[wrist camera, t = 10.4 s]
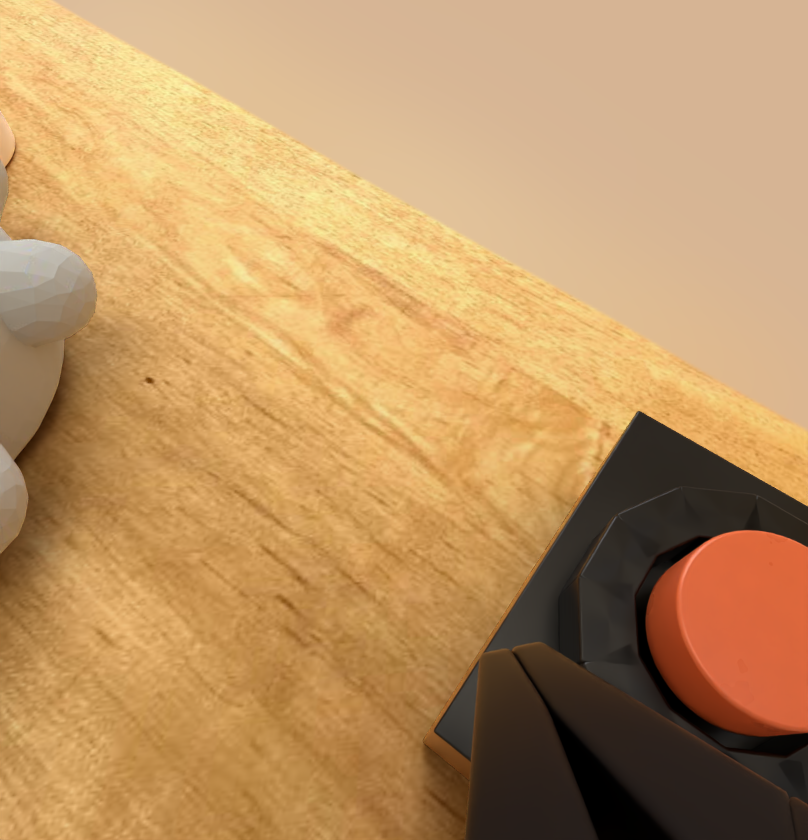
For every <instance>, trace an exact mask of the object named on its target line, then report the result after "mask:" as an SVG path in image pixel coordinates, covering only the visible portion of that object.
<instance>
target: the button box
mask: <svg viewBox="0 0 808 840" xmlns="http://www.w3.org/2000/svg"><path fill="white" fill-rule="evenodd" d="M742 530H752V531H763V532H769V533H774V534H777V535H781V536H784V537H787V538H789V539H791V540H794V541H796V542H798V543H800V544H802V545H804V546H806V547H808V506H806V505H804V504H802V503H801V502H799V501H797V500H795V499H794V498H792V497H790V496H788V495H786V494H785V493H783V492H781V491H779V490H778V489H776V488H774V487H772V486H771V485H769V484H767V483H765V482H764V481H762V480H760V479H758V478H757V477H755V476H753V475H751V474H749V473H748V472H746V471H744V470H742V469H741V468H739V467H737V466H735V465H734V464H732V463H730V462H728V461H727V460H725V459H723V458H721V457H720V456H718V455H716V454H714V453H713V452H711V451H709V450H707V449H705V448H704V447H702V446H700V445H698V444H697V443H695V442H693V441H691V440H690V439H688V438H686V437H684V436H683V435H681V434H679V433H677V432H676V431H674V430H672V429H670V428H668V427H667V426H665V425H663V424H661V423H660V422H658V421H656V420H654V419H653V418H651V417H649V416H647V415H646V414H644V413H642V412H640V411H638V412H637V413H636V414H635V416H634V417H633V419H632V420H631V422H630V423H629V425H628V426H627V428H626V429H625V431H624V432H623V433H622V435H621V436H620V438H619V439H618V441H617V442H616V444H615V445H614V447H613V448H612V450H611V451H610V453H609V454H608V456H607V457H606V458H605V460H604V461H603V463H602V464H601V466H600V467H599V469H598V470H597V472H596V473H595V475H594V476H593V478H592V479H591V481H590V482H589V483H588V485H587V486H586V488H585V489H584V491H583V492H582V494H581V495H580V497H579V498H578V500H577V501H576V503H575V505H574V506H573V508H572V509H571V511H570V512H569V514H568V515H567V517H566V519H565V520H564V522H563V523H562V525H561V526H560V528H559V529H558V531H557V532H556V534H555V536H554V537H553V539H552V540H551V542H550V543H549V545H548V546H547V548H546V550H545V551H544V553H543V554H542V556H541V557H540V559H539V560H538V562H537V564H536V565H535V567H534V568H533V570H532V571H531V573H530V574H529V576H528V578H527V579H526V581H525V582H524V584H523V585H522V587H521V588H520V590H519V592H518V593H517V595H516V596H515V598H514V599H513V601H512V602H511V604H510V606H509V607H508V609H507V610H506V612H505V613H504V615H503V616H502V618H501V620H500V621H499V623H498V624H497V626H496V627H495V629H494V630H493V632H492V633H491V635H490V637H489V638H488V640H487V641H486V643H485V644H484V646H483V647H482V649H481V651H480V652H479V654H478V655H477V657H476V658H475V660H474V661H473V663H472V665H471V666H470V668H469V669H468V671H467V672H466V674H465V675H464V677H463V679H462V680H461V682H460V683H459V685H458V686H457V688H456V689H455V691H454V693H453V694H452V696H451V697H450V699H449V700H448V702H447V703H446V705H445V707H444V708H443V710H442V711H441V713H440V714H439V716H438V717H437V719H436V720H435V722H434V724H433V725H432V727H431V728H430V730H429V731H428V733H427V734H426V736H425V738H424V739H423V743H424V744H425V745H427V746H428V747H429V748H430V749H432V750H433V751H434V752H435V753H436V754H438V755H439V756H440V757H441V758H442V759H444V760H445V761H446V762H447V763H448V764H450V765H451V766H452V767H453V768H454V769H456V770H457V771H458V772H459V773H460V774H462V775H463V776H464V777H465V778H467V779H468V780H469V777H470V765H471V753H472V741H473V729H474V717H475V705H476V693H477V681H478V669H479V658H480V656H481V654H483V653H486V652H491V651H495V650H500V649H509V650H511V651H512V649H513V648H514V647H516V646H520V645H525V644H530V643H535V642H542V643H544V644H546V645H548V646H549V647H551V648H553V649H554V650H556V651H557V652H559V653H561V654H562V655H564V656H566V657H567V658H569V659H570V660H572V661H574V662H575V663H577V664H579V665H580V666H582V667H584V668H585V669H587V670H588V671H590V672H592V673H593V674H595V675H597V676H598V677H600V678H601V679H603V680H605V681H606V682H608V683H610V684H611V685H613V686H615V687H616V688H618V689H619V690H621V691H623V692H624V693H626V694H628V695H629V696H631V697H632V698H634V699H636V700H637V701H639V702H641V703H642V704H644V705H645V706H647V707H649V708H650V709H652V710H654V711H655V712H657V713H659V714H660V715H662V716H663V717H665V718H667V719H668V720H670V721H672V722H673V723H675V724H676V725H678V726H680V727H681V728H683V729H685V730H686V731H688V732H689V733H691V734H693V735H694V736H696V737H698V738H699V739H701V740H703V741H704V742H706V743H707V744H709V745H711V746H712V747H714V748H716V749H717V750H719V751H720V752H722V753H724V754H725V755H727V756H729V757H730V758H732V759H734V760H735V761H737V762H738V763H740V764H742V765H743V766H745V767H747V768H748V769H750V770H751V771H753V772H755V773H756V774H758V775H760V776H761V777H763V778H764V779H766V780H768V781H769V782H771V783H773V784H774V785H776V786H778V787H779V788H781V789H782V790H784V791H785V792H786V793H787V794H788V797H789V799H790V798H791V797H796V798H798V799H799V800H801V801H802V802H804V803H806V804H807V805H808V733H802V734H790V735H778V736H765V737H752V736H744V735H739V734H734V733H731V732H728V731H725V730H723V729H720V728H718V727H716V726H714V725H712V724H710V723H708V722H707V721H705V720H704V719H702V718H700V717H699V716H698V715H696V714H695V713H694V712H692V711H691V710H690V709H689V708H687V707H686V706H685V705H684V704H683V703H682V702H681V701H680V700H679V699H678V698H677V697H676V695H675V694H674V693H673V692H672V691H671V689H670V688H669V687H668V685H667V684H666V682H665V681H664V679H663V678H662V676H661V674H660V672H659V671H658V669H657V667H656V665H655V662H654V660H653V657H652V655H651V652H650V648H649V645H648V641H647V634H646V610H647V604H648V600H649V597H650V594H651V592H652V590H653V587H654V586H655V584H656V582H657V581H658V579H659V578H660V577H661V576H662V575H663V574H664V572H665V571H667V570H668V569H669V568H670V567H671V566H673V565H674V564H675V563H677V562H678V561H680V560H681V559H682V558H684V557H685V556H686V555H688V554H689V553H691V552H692V551H693V550H695V549H696V548H697V547H699V546H700V545H702V544H703V543H704V542H706V541H708V540H710V539H711V538H713V537H716V536H718V535H721V534H723V533H728V532H733V531H742Z"/></svg>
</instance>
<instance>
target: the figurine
mask: <svg viewBox="0 0 808 840" xmlns="http://www.w3.org/2000/svg"><path fill="white" fill-rule="evenodd" d="M7 196H8V175H7V172H6V169H5V166H4V165H3V163H2V161H1V160H0V220H1V217H2V213H3V210H4V206H5V203H6V199H7ZM96 300H97V291H96V284H95V281H94V278H93V274H92V272H91V271H90V270H89V268H88V267H87V266H86V264H85V263H84V262H83V260H82V259H81V258H80V257H79V256H78V255H77V254H75V253H73V252H72V251H70V250H69V249H67V248H66V247H64V246H62V245H59V244H54V243H49V242H45V241H40V240H35V239H25V240H12V239H11V238H10V237H9V236H8V235H7V233H6V232H5V231H4V230H3V229H2V228H1V227H0V554H1V553H2V552H3V551H4V550H5V549H6V547H7V546H8V545H9V544H10V543H11V542H12V541H13V540H14V539H15V538H16V537H17V536H18V535H19V532H20V530H21V527H22V525H23V522H24V520H25V516H26V511H27V505H28V499H29V498H28V493H27V489H26V485H25V480H24V477H23V475H22V473H21V471H20V469H19V467H18V466H17V465H16V463H15V462H14V459H15V458H16V457H17V456H18V455H19V453H20V452H21V451H22V450H23V448H24V447H25V446H26V445H27V443H28V442H29V441H30V440H31V438H32V437H33V436H34V434H35V433H36V431H37V430H38V428H39V427H40V425H41V423H42V421H43V418H44V416H45V414H46V412H47V410H48V408H49V406H50V404H51V402H52V400H53V398H54V395H55V392H56V390H57V387H58V384H59V379H60V374H61V369H62V364H63V359H64V339H66V338H69V337H71V336H73V335H74V334H75V333H77V332H78V331H80V330H81V329H83V328H84V327H86V326H87V324H88V322H89V321H90V319H91V317H92V316H93V314H94V313H95V307H96Z"/></svg>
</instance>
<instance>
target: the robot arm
mask: <svg viewBox="0 0 808 840" xmlns="http://www.w3.org/2000/svg"><path fill="white" fill-rule="evenodd" d="M464 840H808V805H807V804H806V803H804V802H802V801H801V800H799V799H798V798H796V797H791V798H790V799H789V797H788V794H787V793H786V792H785V791H784V790H782V789H781V788H779V787H778V786H776V785H774V784H773V783H771V782H769V781H768V780H766V779H764V778H763V777H761V776H760V775H758V774H756V773H755V772H753V771H751V770H750V769H748V768H747V767H745V766H743V765H742V764H740V763H738V762H737V761H735V760H734V759H732V758H730V757H729V756H727V755H725V754H724V753H722V752H720V751H719V750H717V749H716V748H714V747H712V746H711V745H709V744H707V743H706V742H704V741H703V740H701V739H699V738H698V737H696V736H694V735H693V734H691V733H689V732H688V731H686V730H685V729H683V728H681V727H680V726H678V725H676V724H675V723H673V722H672V721H670V720H668V719H667V718H665V717H663V716H662V715H660V714H659V713H657V712H655V711H654V710H652V709H650V708H649V707H647V706H645V705H644V704H642V703H641V702H639V701H637V700H636V699H634V698H632V697H631V696H629V695H628V694H626V693H624V692H623V691H621V690H619V689H618V688H616V687H615V686H613V685H611V684H610V683H608V682H606V681H605V680H603V679H601V678H600V677H598V676H597V675H595V674H593V673H592V672H590V671H588V670H587V669H585V668H584V667H582V666H580V665H579V664H577V663H575V662H574V661H572V660H570V659H569V658H567V657H566V656H564V655H562V654H561V653H559V652H557V651H556V650H554V649H553V648H551V647H549V646H548V645H546V644H544V643H542V642H535V643H530V644H525V645H520V646H516V647H514V648H513V649H512V651H511V650H509V649H500V650H495V651H491V652H486V653H483V654H481V656H480V658H479V669H478V681H477V693H476V705H475V717H474V729H473V741H472V753H471V765H470V777H469V789H468V801H467V813H466V825H465V837H464Z"/></svg>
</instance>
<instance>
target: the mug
mask: <svg viewBox="0 0 808 840" xmlns="http://www.w3.org/2000/svg"><path fill="white" fill-rule="evenodd" d="M14 150H15V138H14V135H13V132H12V130H11V128H10V127H9V125H8V123H7V121H6V119H5V118H4V116H3V114H2V112H1V110H0V160H1V161H2V163H3V165H4V166H6V165H7V164H8V162H9V161H10V159H11V158H12V156H13V153H14Z"/></svg>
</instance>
